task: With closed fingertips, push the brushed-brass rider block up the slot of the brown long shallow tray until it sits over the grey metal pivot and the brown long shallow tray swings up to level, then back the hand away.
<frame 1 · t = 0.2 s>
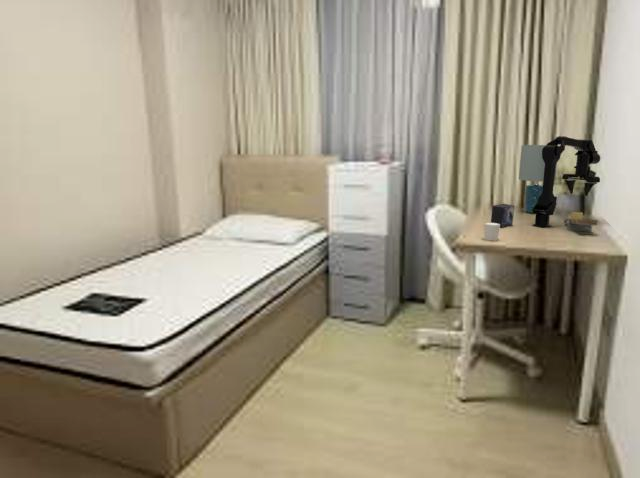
hand: (578, 194, 279), 14 cm above the table, fingers open, 9 cm apart
brown long shallow tray: (579, 221, 259), point 4 cm above the table, hinge at 9.5°, touching pivot stand, rider
pivot stand: (578, 230, 260), on the table
rider: (574, 221, 268), point 3 cm above the table, tilted 9°, touching brown long shallow tray
small box: (501, 226, 270), on the table
white cup: (490, 239, 240), on the table
lamp: (533, 212, 309), on the table
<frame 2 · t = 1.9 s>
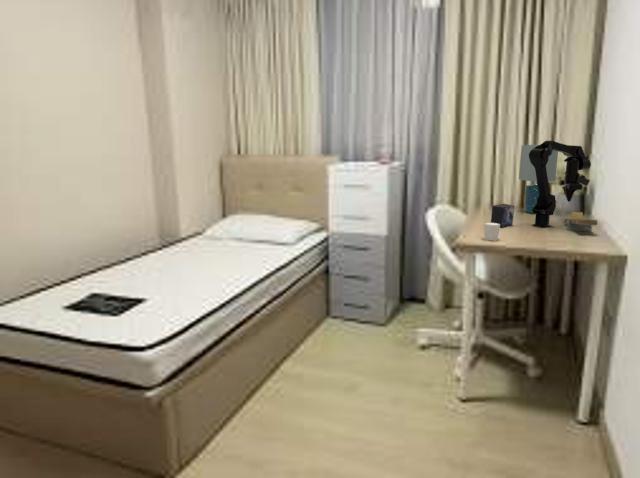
hand: (568, 201, 275), 11 cm above the table, fingers closed
nothing on the table moved.
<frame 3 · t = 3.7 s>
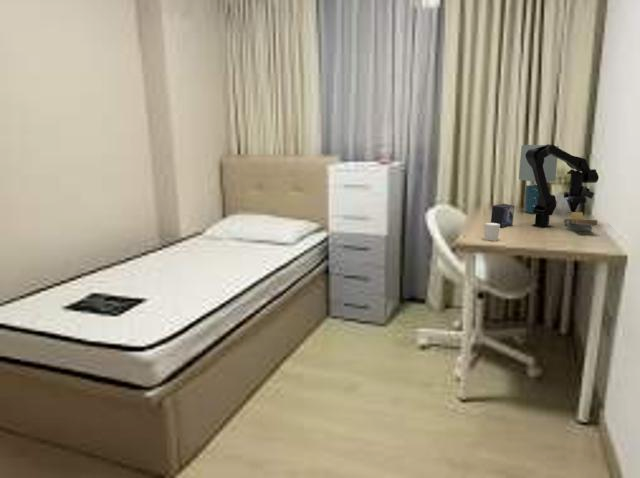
hand: (572, 214, 272), 5 cm above the table, fingers closed
brown long shallow tray: (579, 221, 259), point 4 cm above the table, hinge at 9.5°, touching rider
rider: (574, 221, 268), point 3 cm above the table, tilted 9°, touching brown long shallow tray, gripper
everything else where it was.
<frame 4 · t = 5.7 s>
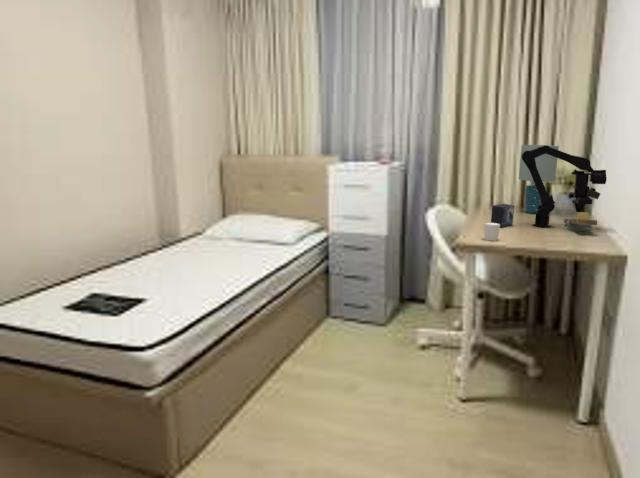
hand: (578, 215, 264), 6 cm above the table, fingers closed
rider: (580, 221, 259), point 4 cm above the table, tilted 10°, touching brown long shallow tray, gripper
everything else where it was.
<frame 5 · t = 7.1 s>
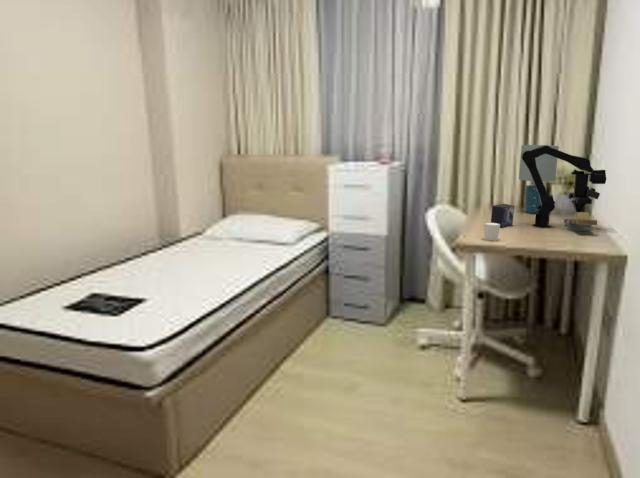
hand: (578, 215, 264), 6 cm above the table, fingers closed
brown long shallow tray: (579, 221, 259), point 4 cm above the table, hinge at 9.5°, touching pivot stand, rider
everything else where it was.
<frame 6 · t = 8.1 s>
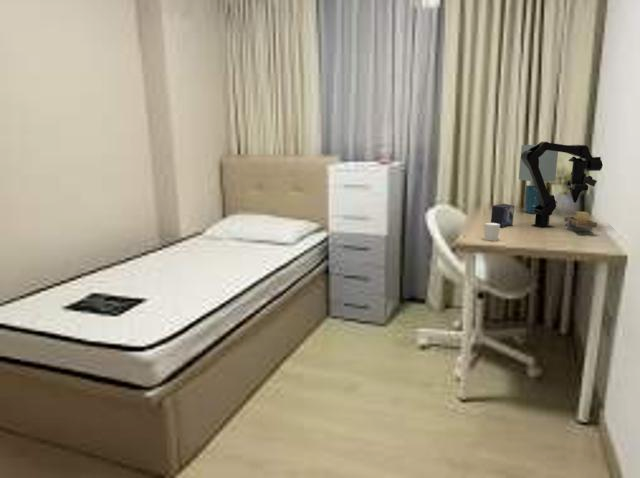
hand: (574, 202, 267), 12 cm above the table, fingers closed
brown long shallow tray: (579, 221, 259), point 4 cm above the table, hinge at 4.4°, touching rider
rider: (580, 221, 259), point 4 cm above the table, touching brown long shallow tray
everything else where it was.
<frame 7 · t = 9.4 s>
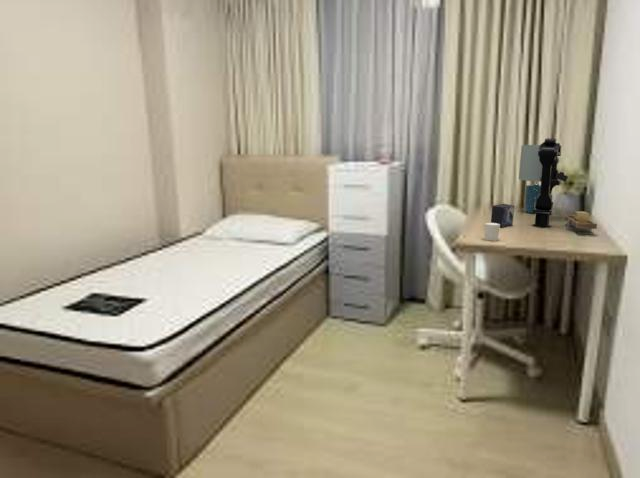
hand: (548, 197, 285), 12 cm above the table, fingers closed
brown long shallow tray: (579, 221, 259), point 4 cm above the table, hinge at 1.8°, touching rider
everything else where it was.
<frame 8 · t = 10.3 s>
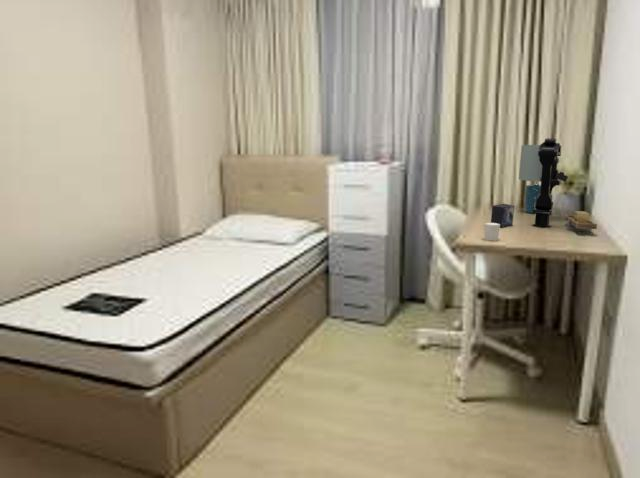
hand: (548, 197, 285), 12 cm above the table, fingers closed
brown long shallow tray: (579, 221, 259), point 4 cm above the table, hinge at 1.1°, touching rider
everything else where it was.
at the end: brown long shallow tray at +1° (first picture: +9°); rider 0.4 cm from the brown long shallow tray (horizontally); rider tilted 1° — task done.
